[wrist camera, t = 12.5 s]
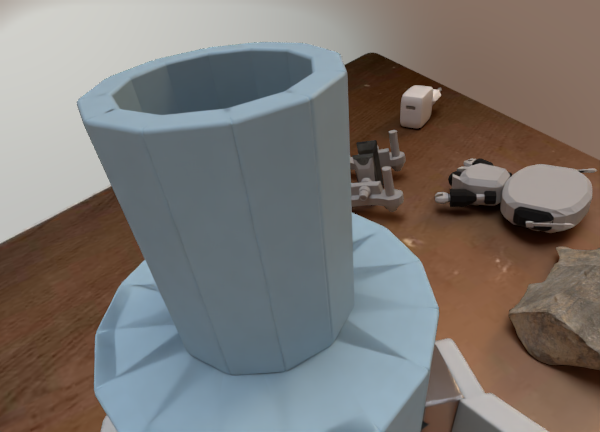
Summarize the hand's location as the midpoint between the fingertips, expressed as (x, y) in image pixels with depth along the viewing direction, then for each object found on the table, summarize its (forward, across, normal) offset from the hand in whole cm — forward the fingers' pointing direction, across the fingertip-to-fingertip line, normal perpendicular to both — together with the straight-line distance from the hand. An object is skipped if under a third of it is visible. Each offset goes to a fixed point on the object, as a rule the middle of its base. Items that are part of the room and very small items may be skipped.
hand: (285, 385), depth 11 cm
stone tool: (+13, -28, +20) cm, 37 cm away
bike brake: (+39, -10, +20) cm, 44 cm away
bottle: (-1, 0, +8) cm, 9 cm away
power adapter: (+57, -31, +20) cm, 68 cm away
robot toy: (+28, -29, +20) cm, 45 cm away
